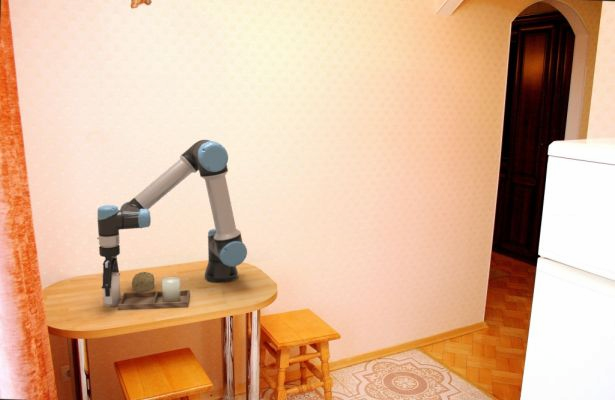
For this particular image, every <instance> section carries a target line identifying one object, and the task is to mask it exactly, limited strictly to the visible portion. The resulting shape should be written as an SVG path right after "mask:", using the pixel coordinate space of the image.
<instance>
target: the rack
mask: <svg viewBox="0 0 615 400" xmlns="http://www.w3.org/2000/svg"><path fill="white" fill-rule="evenodd" d="M190 291H191V290H190V289H182V290H181V289H180V297H181V301H180V302H164V303H163V301H162V290H160V291H156V290H155V291H143V292H137V291H130V292H127V291H126V292H123V294H122V296H121V300H120V302H119V304H118V305H117V311H128V310H152V309H154V310H155V309H156V310H157V309H159V310H160V309H175V308H176V309H179V308H183V309H184V308H188V307H189V303H190V295H191V292H190Z"/></svg>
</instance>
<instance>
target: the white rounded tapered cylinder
mask: <svg viewBox="0 0 615 400" xmlns="http://www.w3.org/2000/svg"><path fill="white" fill-rule="evenodd" d="M119 273H120V272H119ZM119 273H117V272H112V280H111V287H112V301H113V303H112V304H105V297H104V289H102V296H103V297H102V298H103V306H105V307H109V308H110V307H116V306H117V307H118V304H119V302H120V300H121V298H122V296H121V277H120V276H121V274H120V275H119ZM101 277H102V278H101V279H102V281H101V282H102V283H103V274H102V275H101Z"/></svg>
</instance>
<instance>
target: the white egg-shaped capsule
mask: <svg viewBox="0 0 615 400" xmlns="http://www.w3.org/2000/svg"><path fill="white" fill-rule="evenodd" d="M180 290H181V279H180V278H179V277H176V276H170V277H169V276H168V277H164V278H163V279H162V280H161V291H162V301H163V303H164V302H180V301H181V297H180Z"/></svg>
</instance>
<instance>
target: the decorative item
mask: <svg viewBox="0 0 615 400" xmlns="http://www.w3.org/2000/svg"><path fill="white" fill-rule="evenodd" d="M131 280H132V281H131V288H132V291H133V292H149V291H151V290H153V289H154V286H155V276H154V274H153V273H151V272H147V271H141V272H138V273H136V274H135V275H134V276H133V278H132V279H131Z"/></svg>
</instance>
